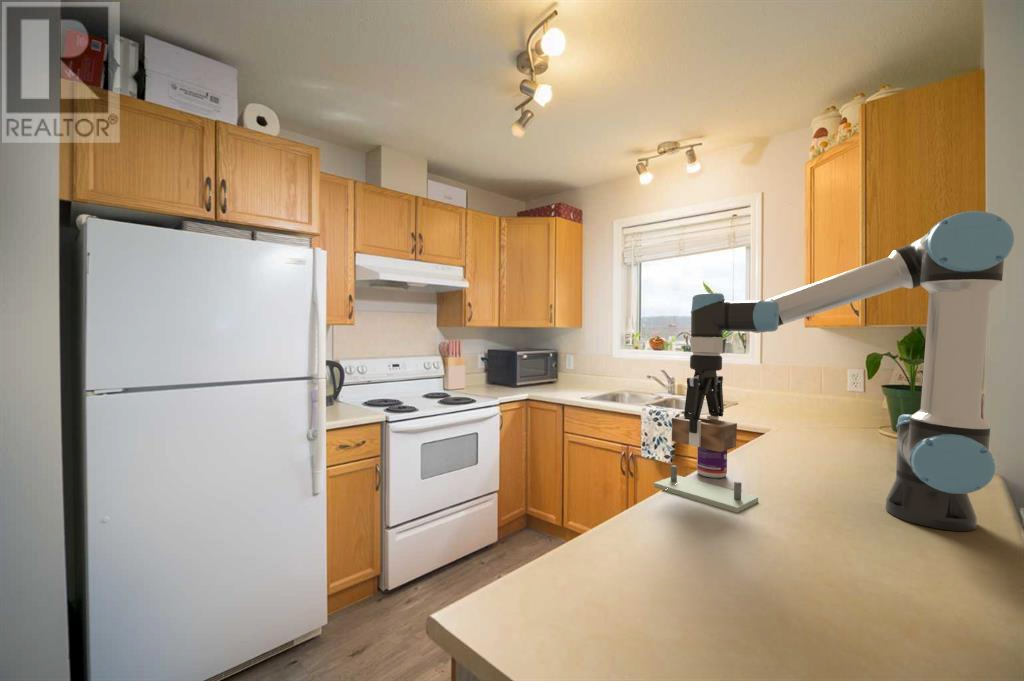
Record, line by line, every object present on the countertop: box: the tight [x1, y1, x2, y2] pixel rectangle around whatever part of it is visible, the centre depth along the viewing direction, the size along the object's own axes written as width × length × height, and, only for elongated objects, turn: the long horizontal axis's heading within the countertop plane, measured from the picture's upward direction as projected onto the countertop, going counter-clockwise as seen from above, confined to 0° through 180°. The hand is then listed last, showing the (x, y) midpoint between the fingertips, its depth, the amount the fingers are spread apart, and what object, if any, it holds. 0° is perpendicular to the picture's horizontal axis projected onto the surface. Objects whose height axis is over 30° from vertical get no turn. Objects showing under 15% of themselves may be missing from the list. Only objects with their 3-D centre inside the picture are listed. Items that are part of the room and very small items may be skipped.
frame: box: [671, 415, 738, 452], centre depth 117 cm, size 13×8×6 cm, turn 39°
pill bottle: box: [696, 447, 728, 479], centre depth 133 cm, size 8×8×14 cm
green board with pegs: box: [653, 465, 759, 514], centre depth 117 cm, size 22×11×5 cm, turn 39°
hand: (703, 443), depth 117 cm, fingers closed on frame, 8 cm apart
